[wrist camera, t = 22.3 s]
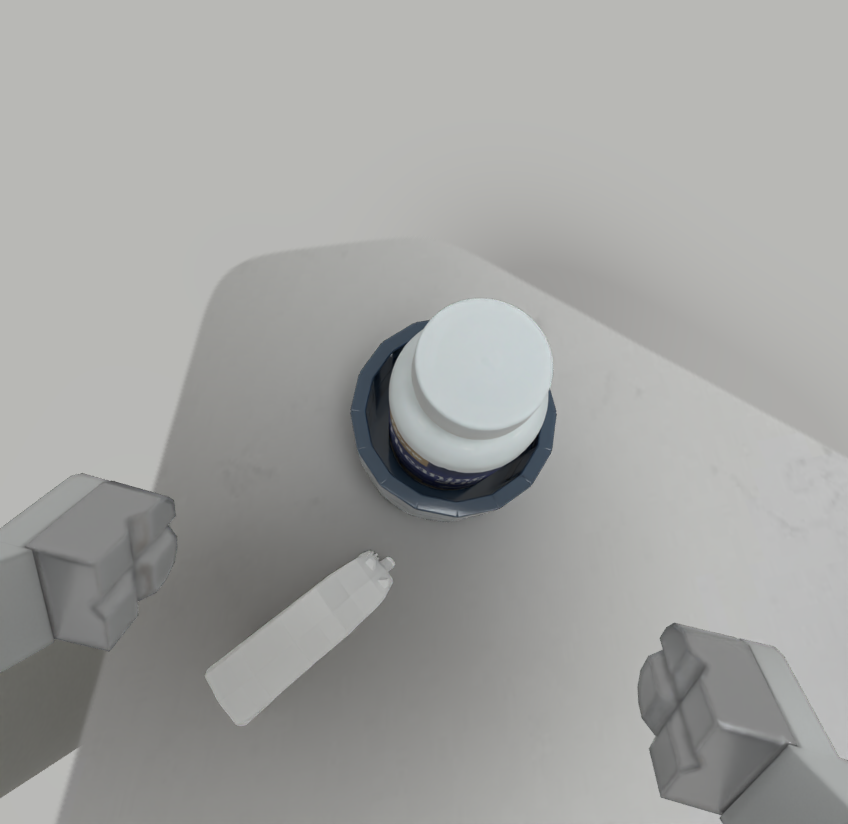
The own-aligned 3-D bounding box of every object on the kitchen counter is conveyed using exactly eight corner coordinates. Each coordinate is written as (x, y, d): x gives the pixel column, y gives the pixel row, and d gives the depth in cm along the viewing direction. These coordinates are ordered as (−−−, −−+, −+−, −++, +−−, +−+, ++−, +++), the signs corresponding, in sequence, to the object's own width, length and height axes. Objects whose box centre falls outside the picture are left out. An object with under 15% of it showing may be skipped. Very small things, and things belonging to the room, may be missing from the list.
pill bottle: (367, 457, 23) (352, 397, 14) (421, 360, 25) (442, 245, 15) (473, 514, 23) (532, 492, 13) (522, 412, 24) (607, 327, 15)
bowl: (420, 557, 23) (428, 559, 18) (326, 412, 24) (312, 382, 20) (559, 458, 24) (596, 440, 20) (462, 327, 26) (477, 284, 21)
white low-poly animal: (222, 659, 21) (177, 689, 17) (376, 537, 23) (373, 534, 18) (255, 710, 21) (219, 755, 16) (410, 582, 23) (415, 591, 18)
